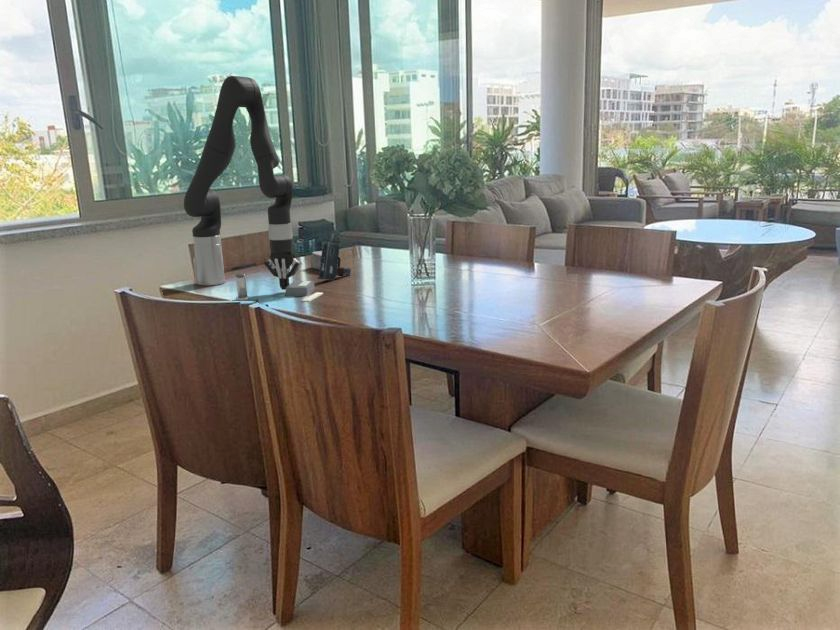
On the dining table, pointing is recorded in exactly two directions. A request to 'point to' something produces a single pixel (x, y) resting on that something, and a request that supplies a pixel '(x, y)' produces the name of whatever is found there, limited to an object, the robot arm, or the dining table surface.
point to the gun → (331, 261)
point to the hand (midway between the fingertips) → (284, 289)
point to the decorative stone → (316, 260)
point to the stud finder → (300, 288)
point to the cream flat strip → (312, 297)
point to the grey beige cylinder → (241, 287)
